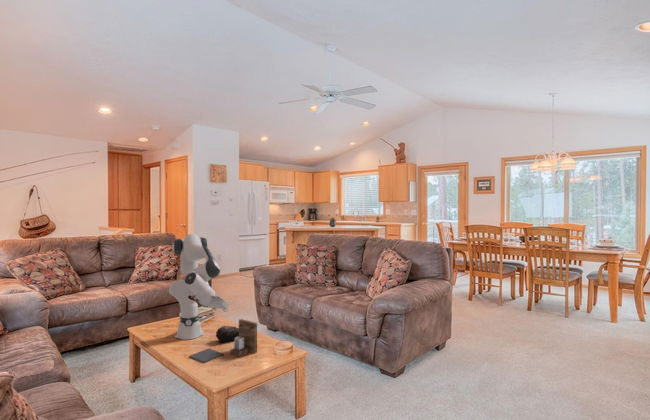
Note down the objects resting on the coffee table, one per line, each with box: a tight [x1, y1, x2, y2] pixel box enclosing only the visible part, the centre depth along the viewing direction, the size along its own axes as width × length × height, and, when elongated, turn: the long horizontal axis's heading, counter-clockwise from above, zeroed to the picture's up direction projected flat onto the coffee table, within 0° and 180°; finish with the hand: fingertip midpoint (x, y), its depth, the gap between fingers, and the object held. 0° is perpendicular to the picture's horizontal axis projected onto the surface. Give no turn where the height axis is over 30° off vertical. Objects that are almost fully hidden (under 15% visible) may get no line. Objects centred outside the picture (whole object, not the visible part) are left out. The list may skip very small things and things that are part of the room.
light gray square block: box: [233, 336, 244, 351], centre depth 221 cm, size 4×4×10 cm
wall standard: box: [230, 318, 258, 358], centre depth 223 cm, size 12×14×18 cm
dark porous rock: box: [215, 325, 239, 344], centre depth 245 cm, size 10×18×10 cm, turn 136°
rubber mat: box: [188, 347, 224, 364], centre depth 218 cm, size 14×14×1 cm
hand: (220, 309), depth 211 cm, fingers open, 8 cm apart
